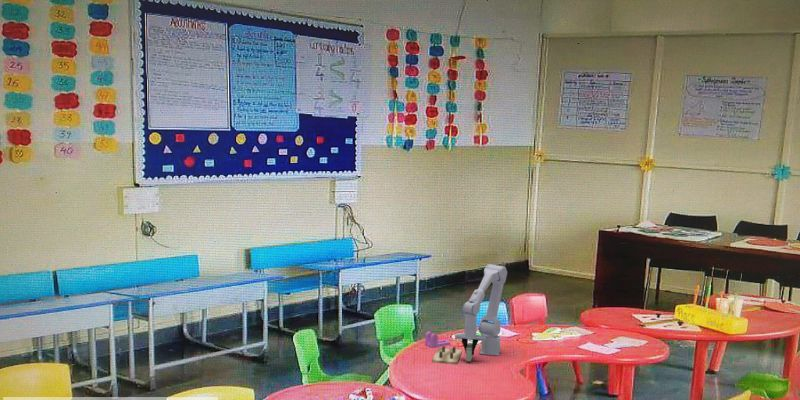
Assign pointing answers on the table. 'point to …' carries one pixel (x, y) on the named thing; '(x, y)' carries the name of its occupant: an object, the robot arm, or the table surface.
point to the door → (469, 352)
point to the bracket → (434, 340)
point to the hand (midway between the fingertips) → (469, 354)
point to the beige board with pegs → (447, 355)
